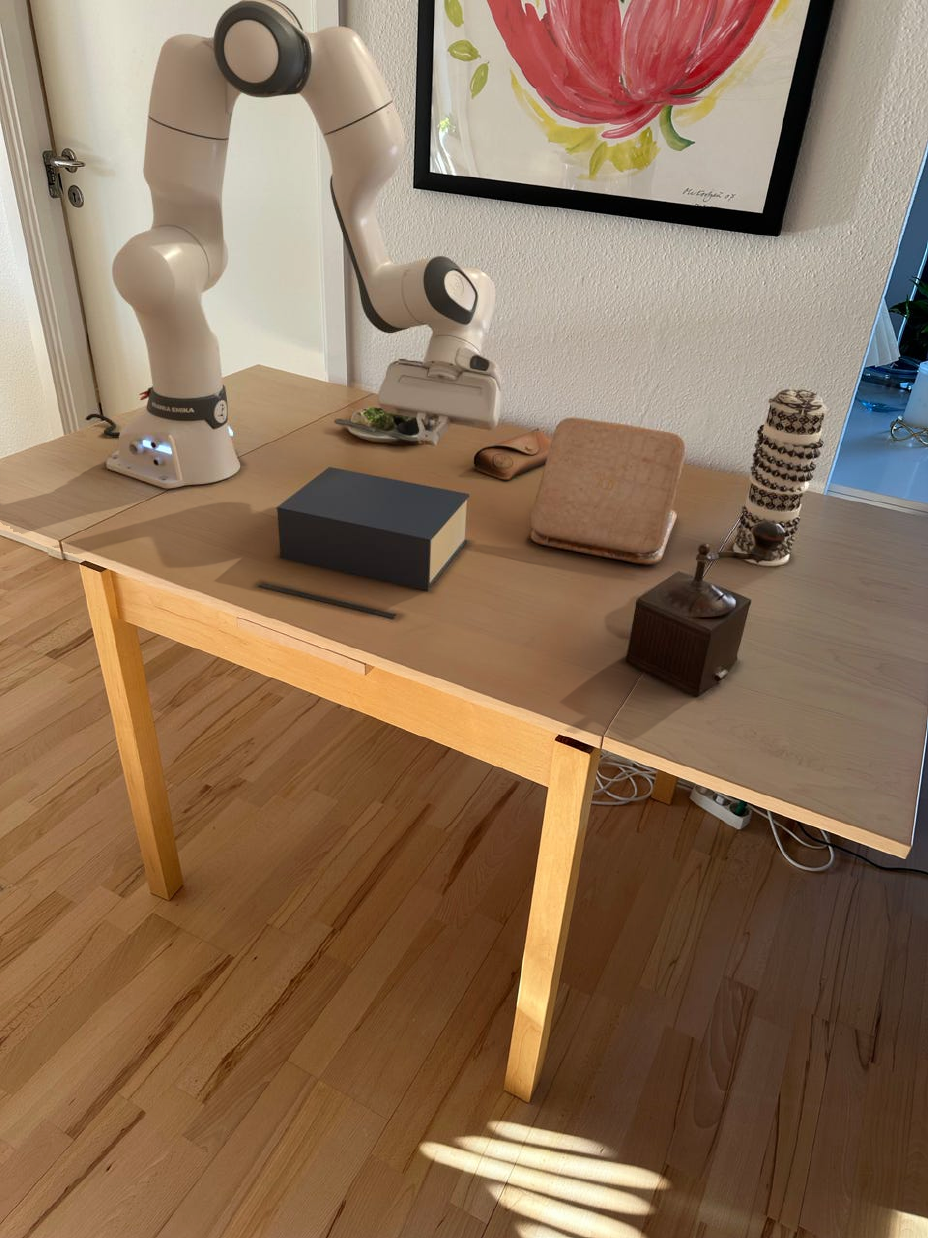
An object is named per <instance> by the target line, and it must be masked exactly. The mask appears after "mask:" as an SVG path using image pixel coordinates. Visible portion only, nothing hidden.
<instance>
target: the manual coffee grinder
mask: <svg viewBox="0 0 928 1238" xmlns="http://www.w3.org/2000/svg"><path fill="white" fill-rule="evenodd" d="M752 534H753V537H754V542H755V545H754V547H753V548H752V549H751V550H750V551H749V554H745V553H738V552H734V551H732V550H721V551H716V552H711V553H710V551H711V548H710V545H709V544H707V543H700V544H699V545H698V548H697V551H698V553H697V554H696V557H695V561H697V562H696V563H697V564H696V568H695V574H694V576H693V575H691V574H688V573H685V572H682V571H679V570H677V572H674V573H673V574H672V575H670V576H669V577H667V578H666V579H664V580H662V581H661V582H660V583H658V584H657V585H655V586H654V587H652V588H650V589H649V590H648V591H646V592H644V593H643V594H641V595H640V596H639V597H637V598H636V601H635V607H634V613H633V618H632V624H631V630H630V634H629V635H630V637H629V643H628V648H627V653H626V657H625V663H627V664H629V665H631V666H632V667H634V668H636V669H637V670H639V671H641V672H643V673H645V674H647V675H649V676H651V677H654V678H656V679H658V680H659V681H661V682H664V683H666V684H668V685H670V686H672V687H674V688H676V689H678V690H681V691H683V692H685V693H687V694H689V695H693V696H696V697H699V696H700V695H702V694H703V693H705V692H706V691H707V690H709V689H710V688H712V687H713V686H714V685H716V684H717V683H719V682H721V681H722V680H724V679H725V677H726V676H727V675H728V673H729V671H731V669H732V668H733V666H734V665H735V664H736V662H737V661H738V654H739V651H740V647H741V644H742V639H743V635H744V631H745V627H746V623H747V618H748V615H749V610H750V608H751V607H750V606H751V605H752V599H751V598H749V597H746V596H744V595H742V594H740V593H737V592H735V591H732V590H730V589H727V588H725V587H721V586H720V585H717V584H715V583H712V582H709V581H707V580H705V579H703V578H704V573H705V567H706V564H708V563H711V562H715V561H717V560H722V559H736V560H740V561H741V560H743V561H746V560H754V561H756V562H757V563H759V562H762V560H763V561H771V560H772V551H773V550H774V549H775V548H776V547H777V546H779V545H780V544H782V542H783V540H784V538H785V531H784V529H783V528H782V527H781V526H780V524H778V523H776V522H772V521H761V522H757V523H756V524H755V525H754V526H753V530H752Z"/></svg>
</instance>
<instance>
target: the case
mask: <svg viewBox="0 0 928 1238" xmlns="http://www.w3.org/2000/svg"><path fill="white" fill-rule="evenodd" d="M686 453H687V443H686V441H685V440H684V438H683V437H682V436H681V435H680V434H677V433H674V432H670V431H666V430H665V431H663V430H659V429H652V428H645V427H641V426H636V425H632V424H631V425H630V424H627V423H620V422H619V423H618V422H609V421H602V420H595V419H589V418H583V417H567V418H564V419H562V420H561V421H559V423H558V424H557V425H556V427H555V429H554V432H553V436H552V440H551V447H550V450H549V453H548V457H547V460H546V464H545V465H544V468H543V471H542V475H541V479H540V482H539V485H538V489H537V493H536V495H535V499H534V502H533V506H532V510H531V512H530V513H531V514H530V518H529V524H530V527H531V529H532V530H531V532H530V539H531V540H532V542H535V544H538V545H541V546H546V547H551V548H557V549H560V550H566V551H572V552H577V553H580V554H581V553H582V554H587V555H593V556H597V557H603V558H609V559H613V560H618V561H624V562H629V563H633V564H634V563H635V564H639V565H645V566H646V565H647V566H651V565H656V564H659V562H661V560H662V558H663V556H664V553H665V551H666V548H667V547H666V546H667V545H668V543H669V539H670V537H671V534H672V530H673V528H674V525H675V522H676V520H677V516H678V514H677V513H676V511H675V510H673V505H674V500H675V497H676V492H677V489H678V484H679V481H680V477H681V473H682V470H683V466H684V462H685V461H684V460H685V457H686Z"/></svg>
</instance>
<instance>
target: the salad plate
mask: <svg viewBox="0 0 928 1238" xmlns="http://www.w3.org/2000/svg"><path fill="white" fill-rule="evenodd" d="M333 423H334V424H336V425H338V426H341V427H343V428H345V429H346V430H348V431H349V433H350V434H352V435H353V436H356V437H358V438H359V439H362V440H364V441H368V442H371V443H380V444H390V445H391V444H393V445H403V446H413V445H414V446H415V445H421V443H419V442H418V441H417V437H418V434H419V427H418V423H417V419H416V418H415V417H410V416H404V415H398V414H392V413H386V412H384V411H383V410H382V408H381V407H376V406H370V407H365V408H362V409H358V410H356V411H354V413H353V414H352V416H351V418H350V420H347V419H343V418H334V420H333ZM436 423H437V421H433V420H429V422H428V425H425V424H424V427H425V430H427V431H434V430H435V428H436Z"/></svg>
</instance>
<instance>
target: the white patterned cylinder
mask: <svg viewBox="0 0 928 1238" xmlns="http://www.w3.org/2000/svg"><path fill="white" fill-rule="evenodd" d="M767 402H768V403H769V409H768V413H767V417H766V418H765V421H764V423H763V424H761V425H760V426H759V428H758V429H757V431H756V434H757V440H756V442H755V444H754V449H755V451H754V452H753V453H752V457H753V459H752V460H753V463H752V465H751V466H750V471H751V474H750V475H749V480H750V482H751V485H750V487H749V492H748V494H747V496H746V500H745V503H744V505H743V506H742V507H741V510H742V511H741V515H740V517H739V522H740V524H738V525H737V527H736V535H735V537H734V545H733V547H732V550H733V552H738V553H745V554H749V551H750V550H751V549H752V548H753V547H754V545H755V542H754V537H753V534H752V530H753V526H754V525H755V524H756V523H757V522H761V521H772V522H776V523H778V524H780V526H781V527H782V528H783V529H784V531H785V538H784V540H783V542H782V544H780V545H779V546H777V547H776V548H775V549H774V550H773V551H772V560H771V561H763V560H762V562H759V563H757V562H756V561H754V560H745V561H746V562H748V563H750V564H755V565H759V566H766V567H777V566H782V565H784V564H786V563H787V562H789V558H790V555H791V551H792V550H793V547H792V546H793V544H794V542H795V540H796V538H795V536H796V535H795V534H796V532H797V531H798V524H799V522H800V521H801V516H800V511H801V508H802V500H803V496H804V493H806V492H807V491H808V490H809V486H810V483H809V482H810V481H812V479H813V478H814V476H813V474H812V472H813V471H815V470H816V468H817V465H816V463H815V462H814V461H812V460H815V459H817V458H819V457H820V456H821V454H822V453H821V451H820V450H819V449H820V448H822V447H823V446H824V445H825V444H824V443H825V441H824V440H823V439H822V437H821V435H822V431H823V428H822V426H823V423H824V419H825V415H826V413H828V411H829V407H827V406H826V404H825V403H824V401H823V398H822V397H821V396H820V395H819V394H817V393H815V392H813V391H810V390H806V389H801V388H786V389H783V390H781V391H779V392H778V393H777V394H776V395H775V396H773V397H770V398H769V399H768V401H767Z"/></svg>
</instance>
